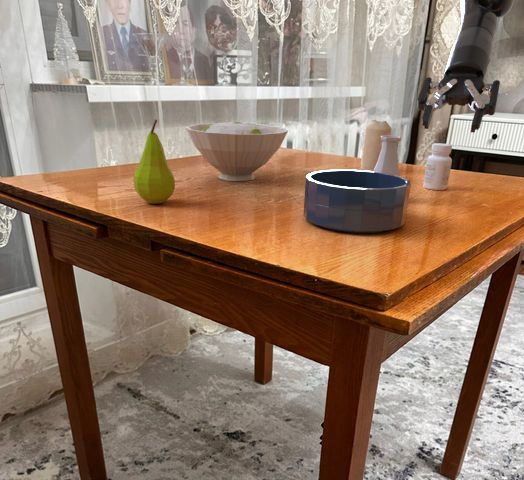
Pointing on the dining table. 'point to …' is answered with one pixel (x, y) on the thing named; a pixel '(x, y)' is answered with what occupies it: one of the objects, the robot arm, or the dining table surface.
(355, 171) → the blue dish
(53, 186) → the dining table surface
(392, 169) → the flask
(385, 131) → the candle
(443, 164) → the pill bottle
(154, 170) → the fruit
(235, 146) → the bowl
